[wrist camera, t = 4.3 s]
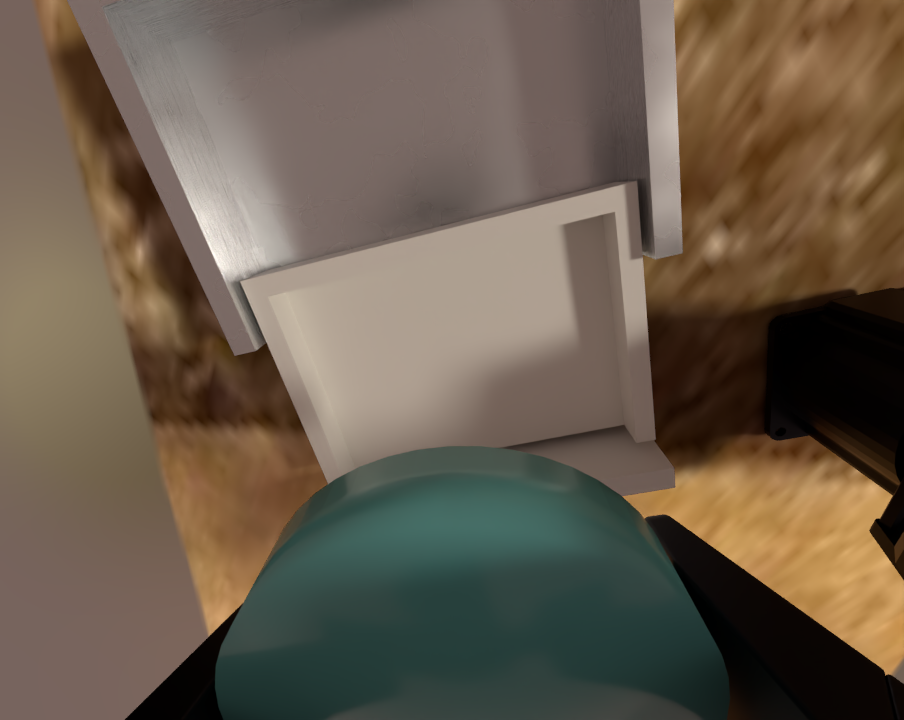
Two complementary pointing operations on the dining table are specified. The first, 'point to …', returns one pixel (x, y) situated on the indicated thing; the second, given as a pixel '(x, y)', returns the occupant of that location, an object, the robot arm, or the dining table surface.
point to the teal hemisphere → (469, 602)
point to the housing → (383, 119)
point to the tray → (477, 340)
